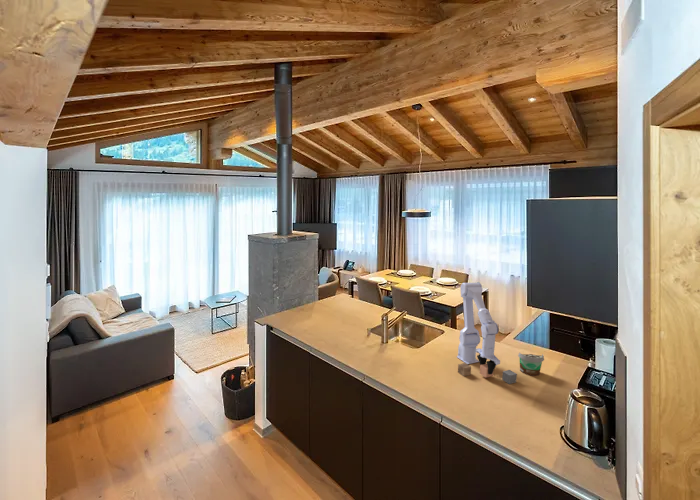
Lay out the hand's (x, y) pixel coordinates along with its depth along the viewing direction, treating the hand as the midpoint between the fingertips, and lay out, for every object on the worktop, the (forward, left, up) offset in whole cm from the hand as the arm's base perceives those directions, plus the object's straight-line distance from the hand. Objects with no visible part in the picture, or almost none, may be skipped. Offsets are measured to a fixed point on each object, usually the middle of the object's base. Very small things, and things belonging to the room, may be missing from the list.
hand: (486, 371), depth 177 cm
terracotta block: (0, 0, -2) cm, 2 cm away
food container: (+6, +24, -3) cm, 25 cm away
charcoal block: (+7, +8, -3) cm, 11 cm away
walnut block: (-7, -8, -3) cm, 11 cm away
